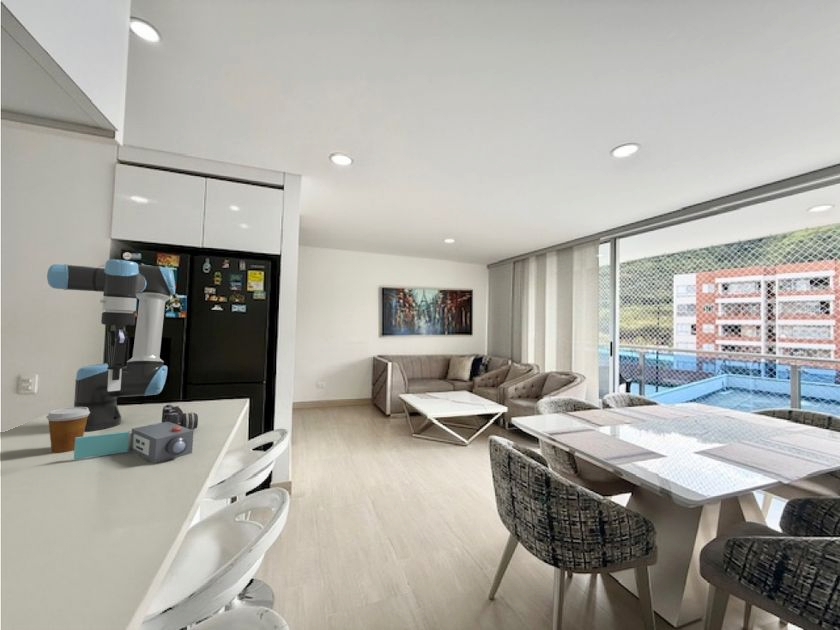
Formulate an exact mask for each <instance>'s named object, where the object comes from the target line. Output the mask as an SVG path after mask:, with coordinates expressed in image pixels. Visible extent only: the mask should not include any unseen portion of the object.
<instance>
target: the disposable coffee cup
mask: <svg viewBox="0 0 840 630" xmlns="http://www.w3.org/2000/svg"><path fill="white" fill-rule="evenodd" d="M89 414H90V411H89V409H88V408H87V407H74V406H71V407H65V408H63V407H62V408H58V409H53V410H50V411H49V412H48V415H47V416H46V419H47V421H48V430H49V437H50V438H49V439H50V446H51V448H50V449H51V452H52V453H65V452H66V453H67V452H72V451H74V449H75V438H76V437H84V433H85V431H84V430H85V426H86V422H87V418H88V415H89Z"/></svg>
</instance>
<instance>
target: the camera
mask: <svg viewBox="0 0 840 630" xmlns="http://www.w3.org/2000/svg"><path fill="white" fill-rule="evenodd" d="M163 422H171V423H174V424H177V425H180V426H182V427H185V428H188V429H191V430H193V431H194V430H195V429H197V428H198V425H199V415H198V414H197V413H195V412H184V411H183V410H182V409H181V408H180V406H178V405H176V406H174V405H172V404H166V405H164V406H163V409H162V414H161V423H163Z"/></svg>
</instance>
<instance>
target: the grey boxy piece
mask: <svg viewBox="0 0 840 630" xmlns="http://www.w3.org/2000/svg"><path fill="white" fill-rule="evenodd" d="M131 431H132V441H131V451H130V452H131V453H133V454H134V455H138V456H139V457H142V458H143V459H145V460H147V461H149V462H151V463H153V464H158V463H161V462H165V461H168V460H171V459H176V458H178V457H182V456H185V455H190V454H193V446H194V445H193V443H194V430H191V429H188V428H185V427H182V426H180V425H177V424H174V423H171V422H163V423H162V422H159V423H153V424H149V425H145V426H139V427H134V428H133V427H132V428H131Z"/></svg>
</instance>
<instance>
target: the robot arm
mask: <svg viewBox="0 0 840 630" xmlns="http://www.w3.org/2000/svg"><path fill="white" fill-rule="evenodd" d="M46 277H47V279H46V280H47V283H48V285H49V286H50V287H51V288H52V289H57V290H64V291H67V290H69V291H81V292H82V291H83V292H86V291H88V292H99V293H103V297H102V299H100V303H101V304H102V310H103V312H102V313H101V321H100V322H101V324H102V325H104V326H107V325H108V326H110V330H107V362H105V363H97V364H91V365H86V366H82V367H80V368H78V370H77V371H76V377H75V379H74V381H75V383H74V384H75V386H74V387H75V388H74V398H73V399H74V401H73V402H74V403H73V407H87V408H88V409H89V411H90V414H89V415H88V418H87V422H86V426H85V430H84V432H92V431H99V430H105V429H108V428H109V429H110V428H113V427H116V426H118V425H120V424H121V423H122V415H121V412H120V409H119V406H118V404H117V399H118V398H121V397H123V398H124V397H140V396H142V397H143V396H144V397H147V396H153V395H154V396H156V395H159V394H160V393H161V392H162V391H163V389H164V386H165V384H166V381H167V376H168V366H167V365H164V363H165V361H164V360H163V359H161V357H160V355H161V348H162V347H161V346H162V336H163V328H164V327H163V325H164V319H165V317H164V316H165V309H166V307H165V306H166V302H168V301H169V300H170V299H171V296H173V295H175V294H176V281H175V274H174V271H173V270H172V269H171V268H169V267H163V266H154V265H147V264H146V265H144V264H138V263H137V262H135V261H131V260H124V259H107V260H106V261H105V264H101V265H99V266H96V265H95V266H92V265H91V266H90V265H88V266H87V265H72V264H62V263H61V264H57V263H56V264H51V265H50V266H49V268H48V270H47V274H46ZM137 299H138V300H139V302H138V308H137ZM137 309H138V310H137ZM136 311H137V318H136V314H135V313H134V312H136ZM134 325H135V326H136V327H135V333H134V340H133V341H134V344H133V349H132V357H131V358H130V359H128V360H127V361H126V366H125V360H126V359H125V358H126V351H127V344H128V340H129V336H128V335H129V333H128V331H126V330H127V329H126V326H134Z"/></svg>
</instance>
